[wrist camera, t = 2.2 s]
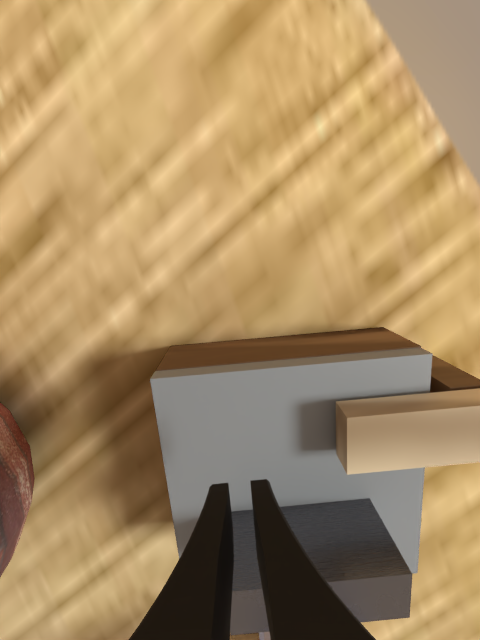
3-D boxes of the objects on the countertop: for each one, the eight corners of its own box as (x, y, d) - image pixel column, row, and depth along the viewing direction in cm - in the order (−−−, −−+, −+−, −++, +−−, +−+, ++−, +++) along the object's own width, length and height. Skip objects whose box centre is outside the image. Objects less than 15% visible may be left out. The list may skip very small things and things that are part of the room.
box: (416, 499, 23) (467, 567, 18) (195, 521, 23) (186, 595, 18) (428, 323, 20) (493, 347, 15) (170, 346, 19) (150, 378, 15)
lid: (407, 556, 19) (469, 662, 14) (187, 577, 19) (172, 692, 14) (420, 347, 16) (505, 390, 11) (155, 371, 16) (120, 426, 11)
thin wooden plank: (487, 439, 16) (513, 458, 14) (336, 453, 16) (347, 474, 14) (493, 387, 15) (522, 401, 14) (335, 401, 15) (347, 417, 13)
